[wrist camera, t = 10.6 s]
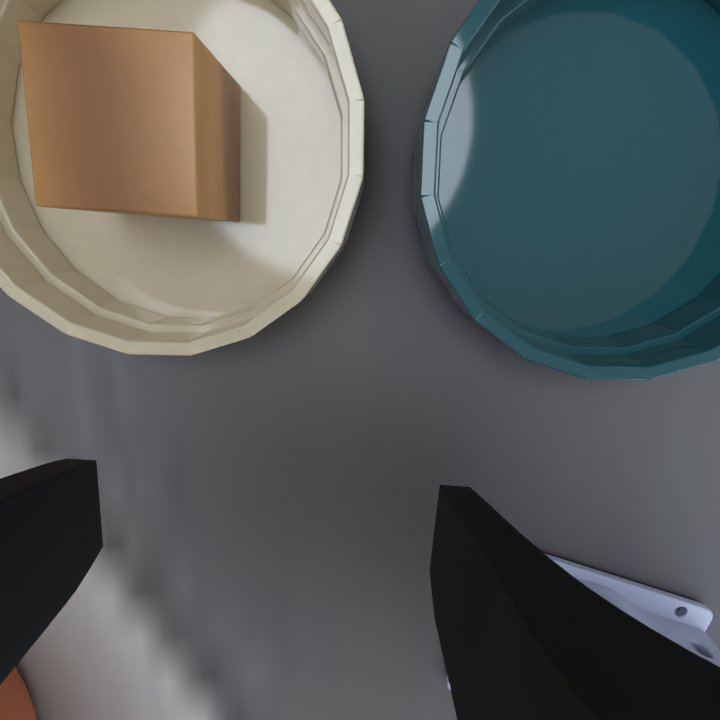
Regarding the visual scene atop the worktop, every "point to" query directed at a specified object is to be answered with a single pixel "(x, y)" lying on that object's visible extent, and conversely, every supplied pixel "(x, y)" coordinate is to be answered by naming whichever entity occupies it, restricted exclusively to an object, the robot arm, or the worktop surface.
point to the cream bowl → (196, 236)
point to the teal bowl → (579, 181)
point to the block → (130, 122)
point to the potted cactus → (15, 699)
